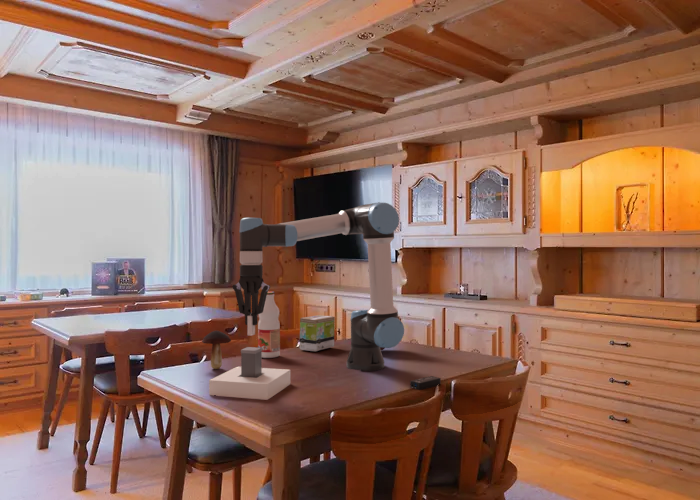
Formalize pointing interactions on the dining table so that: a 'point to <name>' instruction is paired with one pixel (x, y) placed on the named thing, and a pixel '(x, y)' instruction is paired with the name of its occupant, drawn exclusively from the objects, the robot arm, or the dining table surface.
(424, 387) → the multiport hub
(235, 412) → the dining table surface
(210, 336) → the decorative mushroom
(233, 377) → the socket
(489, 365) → the dining table surface
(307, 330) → the tea box
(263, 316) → the fruit juice
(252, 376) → the plug
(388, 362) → the dining table surface
